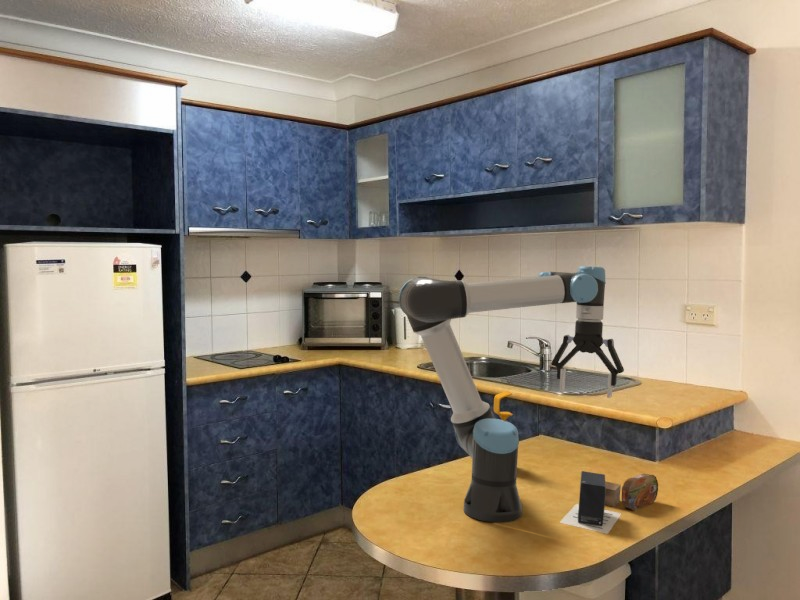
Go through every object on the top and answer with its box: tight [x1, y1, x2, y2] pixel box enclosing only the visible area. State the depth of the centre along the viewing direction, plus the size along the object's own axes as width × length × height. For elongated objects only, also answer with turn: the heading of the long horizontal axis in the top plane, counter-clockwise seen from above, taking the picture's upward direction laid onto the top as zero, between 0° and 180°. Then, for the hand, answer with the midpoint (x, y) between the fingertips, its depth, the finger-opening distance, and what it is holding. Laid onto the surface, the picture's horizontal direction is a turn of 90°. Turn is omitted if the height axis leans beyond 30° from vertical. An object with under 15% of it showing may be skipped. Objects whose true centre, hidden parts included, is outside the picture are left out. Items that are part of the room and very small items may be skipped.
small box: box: [578, 470, 606, 526], centre depth 172 cm, size 11×6×10 cm, turn 163°
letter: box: [559, 503, 622, 535], centre depth 172 cm, size 12×16×1 cm
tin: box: [621, 473, 659, 511], centre depth 182 cm, size 15×3×8 cm, turn 129°
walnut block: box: [605, 480, 622, 508], centre depth 184 cm, size 6×6×5 cm
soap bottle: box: [493, 390, 513, 422], centre depth 211 cm, size 9×9×25 cm
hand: (585, 393), depth 191 cm, fingers open, 13 cm apart
